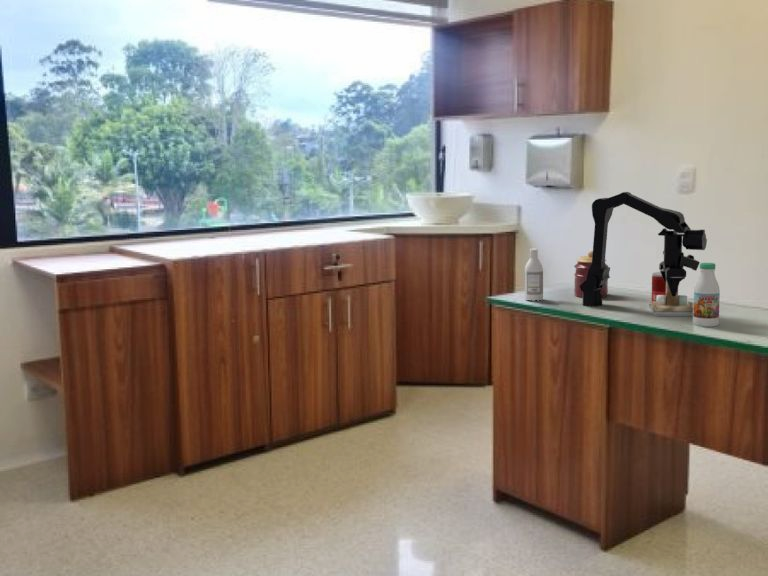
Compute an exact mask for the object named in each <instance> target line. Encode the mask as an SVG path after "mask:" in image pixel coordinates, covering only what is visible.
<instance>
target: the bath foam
mask: <svg viewBox="0 0 768 576" xmlns="http://www.w3.org/2000/svg"><path fill="white" fill-rule="evenodd" d="M538 250H539V249H538V248H529V259H528V261H527V262H526V264H525V267H524V299H527V300H534V301H533V302H540V301H539V300H541V301H543V300H544V268H543V265H542V263H541V261H540V260H539V256H538V255H539V253H538ZM527 300H526V301H527ZM535 300H537V301H535Z"/></svg>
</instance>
